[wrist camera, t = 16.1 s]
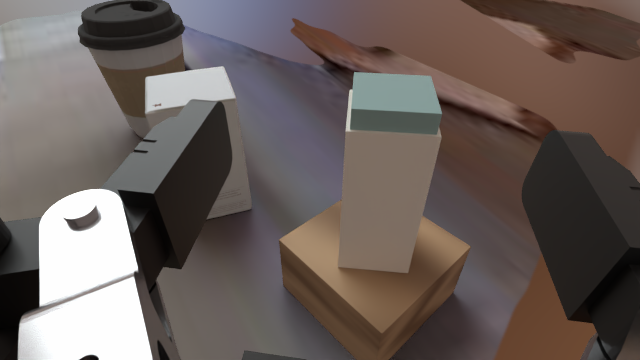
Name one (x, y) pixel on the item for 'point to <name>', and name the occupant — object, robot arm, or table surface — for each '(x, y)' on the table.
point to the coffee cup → (133, 49)
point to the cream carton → (387, 169)
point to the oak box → (369, 285)
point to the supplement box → (213, 84)
